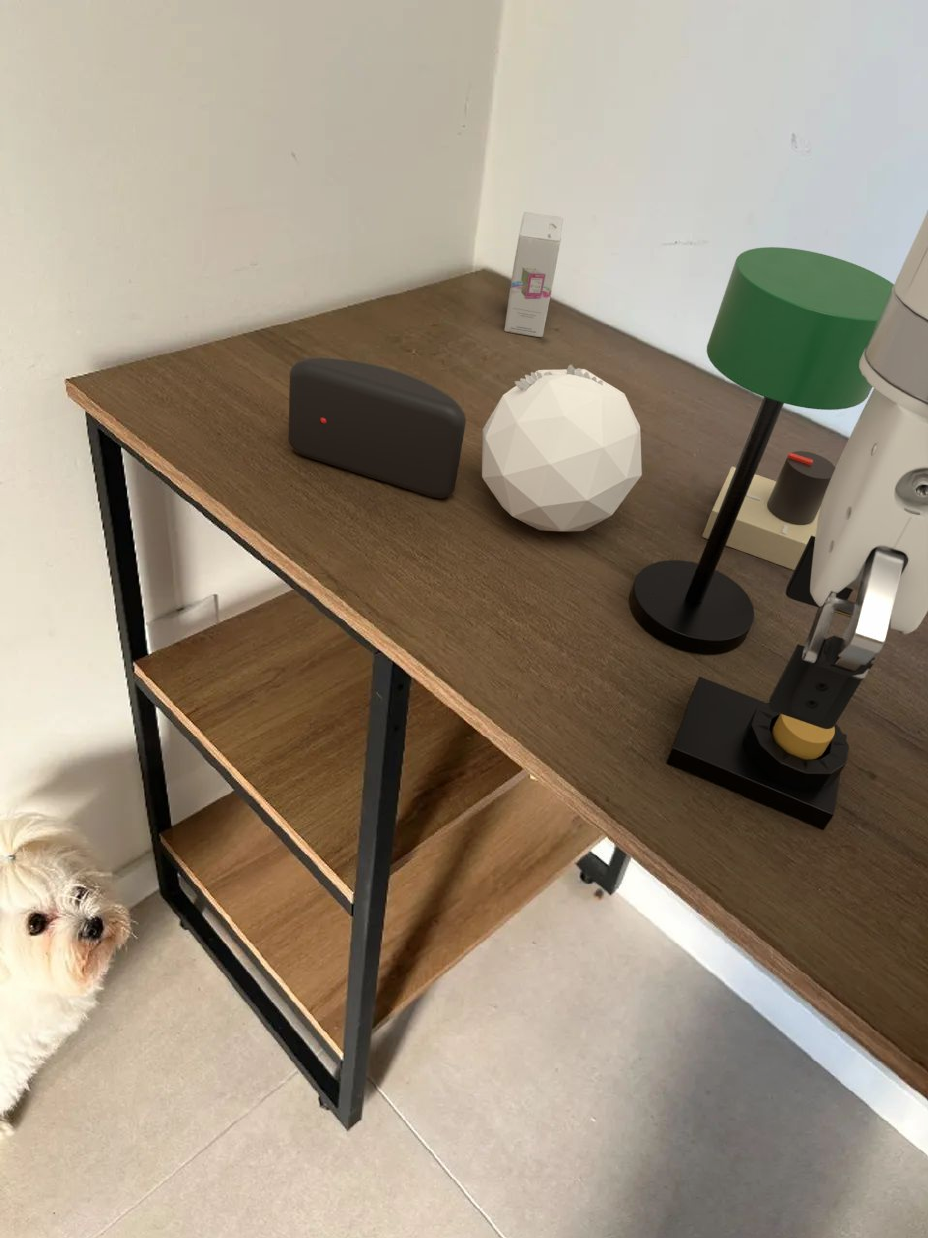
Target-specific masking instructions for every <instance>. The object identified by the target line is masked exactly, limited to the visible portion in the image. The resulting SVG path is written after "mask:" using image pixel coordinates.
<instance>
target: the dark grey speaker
mask: <svg viewBox="0 0 928 1238" xmlns="http://www.w3.org/2000/svg"><path fill="white" fill-rule="evenodd" d="M288 391H289V393H288V395H289V397H288V438H287V439H288V442H289V446H290V447H291V448H292V450H293V451H295V452H296V453H297V454H299V455H300V456H303V457H305V458H308V459H312V460H315V461H318V462H320V463H323V464H327V465H330V466H334V467H337V468H339V469H343V470H346V471H349V472H352V473H355V474H358V475H361V476H365V477H368V478H370V479H374V480H377V481H380V482H384V483H387V484H390V485H394V486H396V487H399V488H402V489H406V490H407V491H412V492H415V493H418V494H421V495H423V496H427V497H431V498H435V499H446V498H448V497H450V496H452V495H453V493H454V492H455V490H456V484H457V478H458V473H459V466H460V460H461V453H462V448H463V441H464V436H465V429H466V423H467V422H466V421H467V420H466V415H465V413H464V411H463V408H462V406H461V405H460V404H459V403H458V402H457V400H455V399H454V398H453V397H451V396H450V395H449V394H447V393H446V392H444V391H442V390H441V389H439V388H438V387H436V386H434V385H432V384H430V383H428V382H426V381H424V380H421V379H419V378H417V377H415V376H412V375H409V374H407V373H405V372H401V371H399V370H395V369H391V368H388V367H384V366H381V365H376V364H374V363H373V364H372V363H367V362H364V361H363V362H362V361H357V360H350V359H344V358H343V359H342V358H333V357H308V358H304V359H300V360H299V361H297V362H295V363H294V364H293V365H292V366H291V368H290V371H289V390H288Z"/></svg>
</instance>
